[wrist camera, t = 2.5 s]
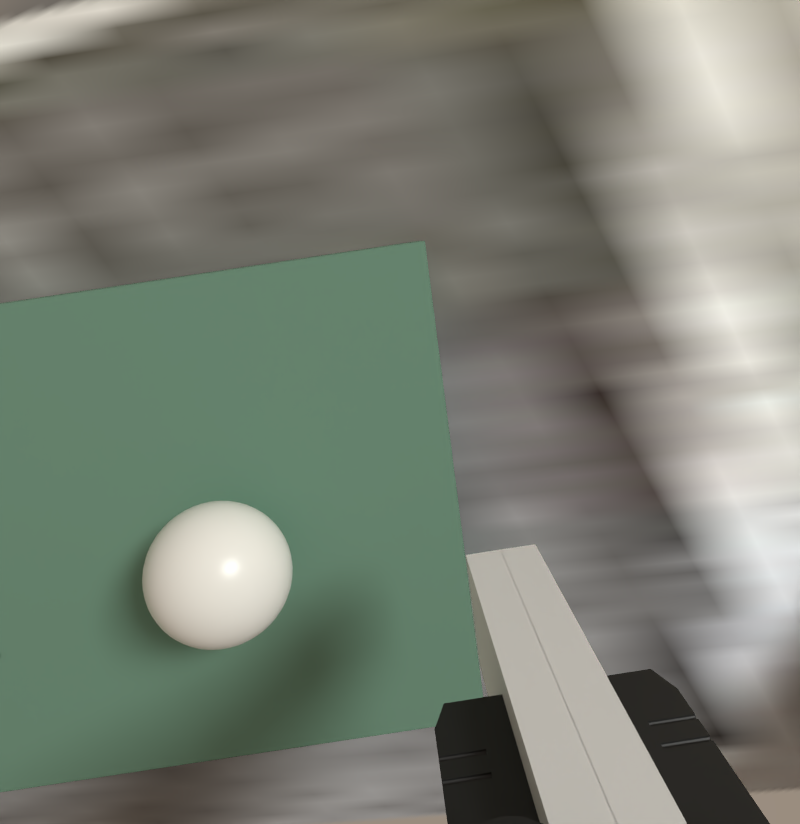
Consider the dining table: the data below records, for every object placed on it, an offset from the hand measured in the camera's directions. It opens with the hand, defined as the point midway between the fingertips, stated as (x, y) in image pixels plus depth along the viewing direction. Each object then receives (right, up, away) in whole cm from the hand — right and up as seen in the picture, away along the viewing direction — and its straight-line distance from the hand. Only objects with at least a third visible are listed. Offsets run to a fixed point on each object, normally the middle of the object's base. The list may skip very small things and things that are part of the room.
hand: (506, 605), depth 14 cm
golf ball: (-7, 0, +4) cm, 8 cm away
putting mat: (-13, 0, +8) cm, 16 cm away
